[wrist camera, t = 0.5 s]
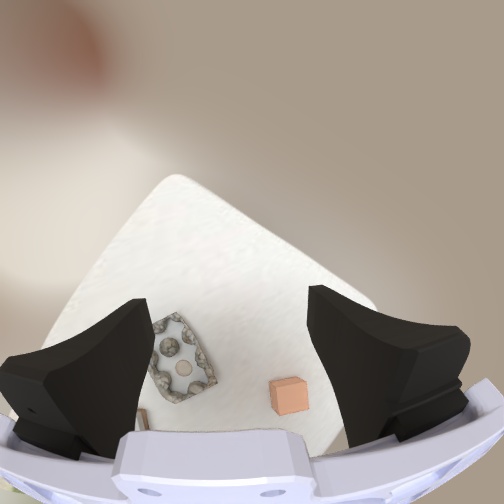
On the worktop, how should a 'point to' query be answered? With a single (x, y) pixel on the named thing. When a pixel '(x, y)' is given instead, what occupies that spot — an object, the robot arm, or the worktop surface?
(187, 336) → the egg carton
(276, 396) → the terracotta cube
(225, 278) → the worktop surface
